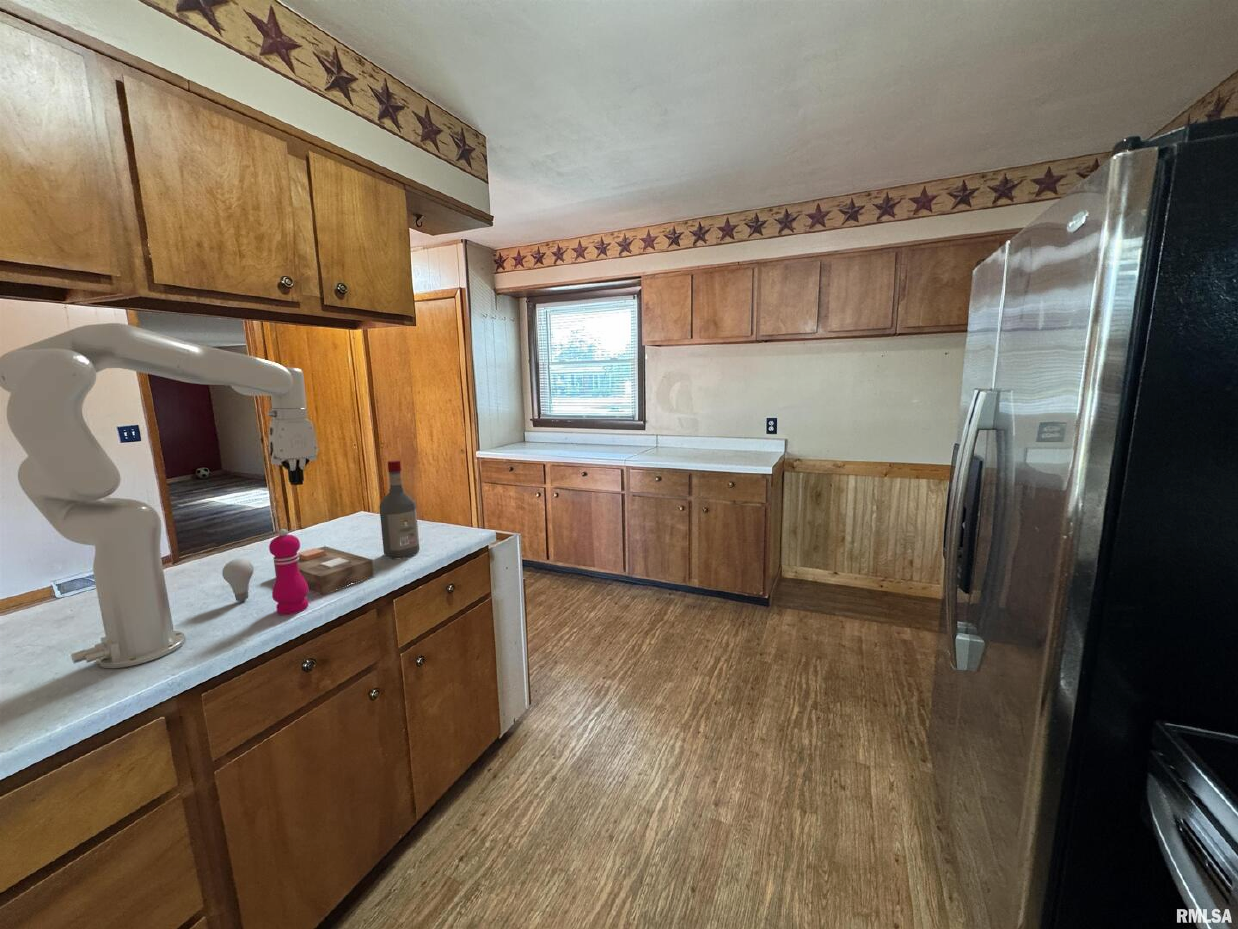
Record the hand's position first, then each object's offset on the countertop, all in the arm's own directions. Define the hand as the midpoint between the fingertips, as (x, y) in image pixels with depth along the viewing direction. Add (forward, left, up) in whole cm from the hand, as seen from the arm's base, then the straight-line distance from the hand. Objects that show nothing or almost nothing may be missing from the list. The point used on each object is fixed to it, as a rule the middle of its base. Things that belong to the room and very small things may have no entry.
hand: (296, 484), depth 128 cm
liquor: (+27, -3, -28) cm, 39 cm away
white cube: (+4, -7, -27) cm, 28 cm away
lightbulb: (-15, +1, -28) cm, 31 cm away
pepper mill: (-11, -15, -28) cm, 33 cm away
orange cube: (+4, +5, -26) cm, 27 cm away
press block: (+4, -1, -27) cm, 28 cm away
